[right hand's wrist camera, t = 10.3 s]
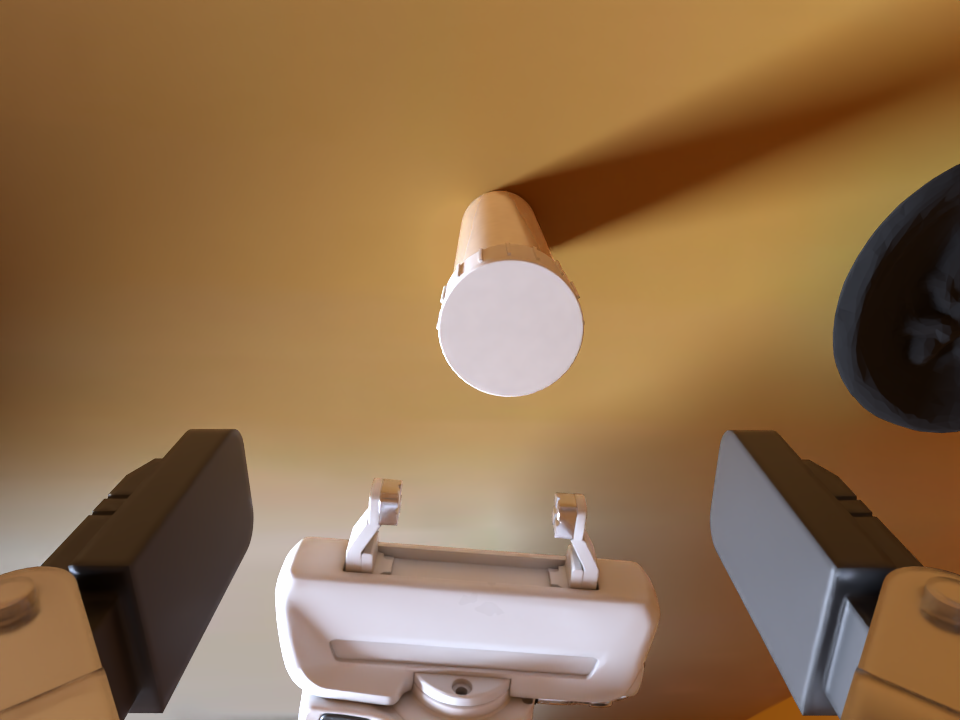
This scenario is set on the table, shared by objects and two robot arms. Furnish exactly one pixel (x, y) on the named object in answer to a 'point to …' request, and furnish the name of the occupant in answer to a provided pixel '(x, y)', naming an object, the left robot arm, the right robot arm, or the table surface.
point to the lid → (510, 320)
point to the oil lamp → (907, 313)
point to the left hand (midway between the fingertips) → (479, 491)
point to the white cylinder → (498, 225)
